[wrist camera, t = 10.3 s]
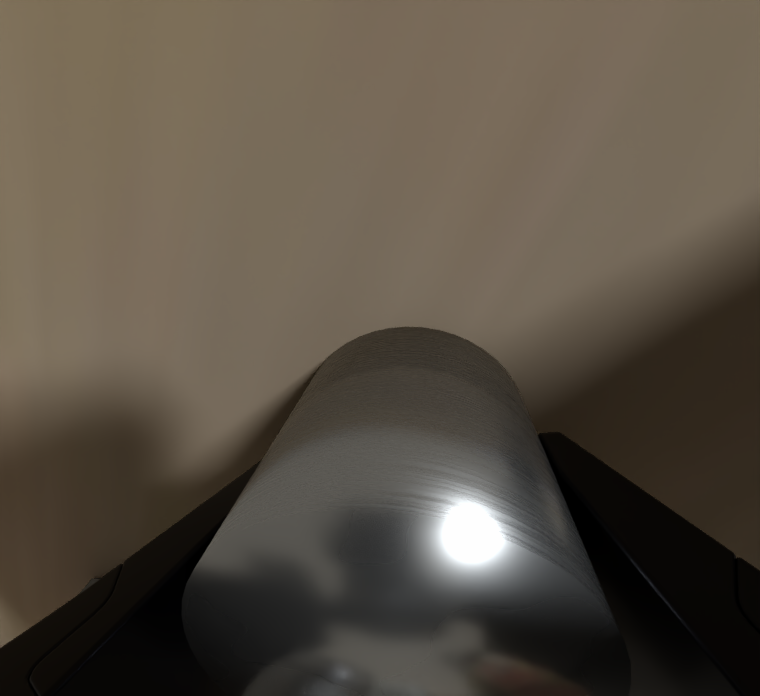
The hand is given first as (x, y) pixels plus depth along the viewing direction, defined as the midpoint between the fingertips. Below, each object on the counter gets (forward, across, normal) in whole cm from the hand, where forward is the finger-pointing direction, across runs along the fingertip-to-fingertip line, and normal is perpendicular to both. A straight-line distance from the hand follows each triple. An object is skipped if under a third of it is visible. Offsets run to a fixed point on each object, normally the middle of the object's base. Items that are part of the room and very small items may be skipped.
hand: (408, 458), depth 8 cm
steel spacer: (+1, 0, 0) cm, 1 cm away
